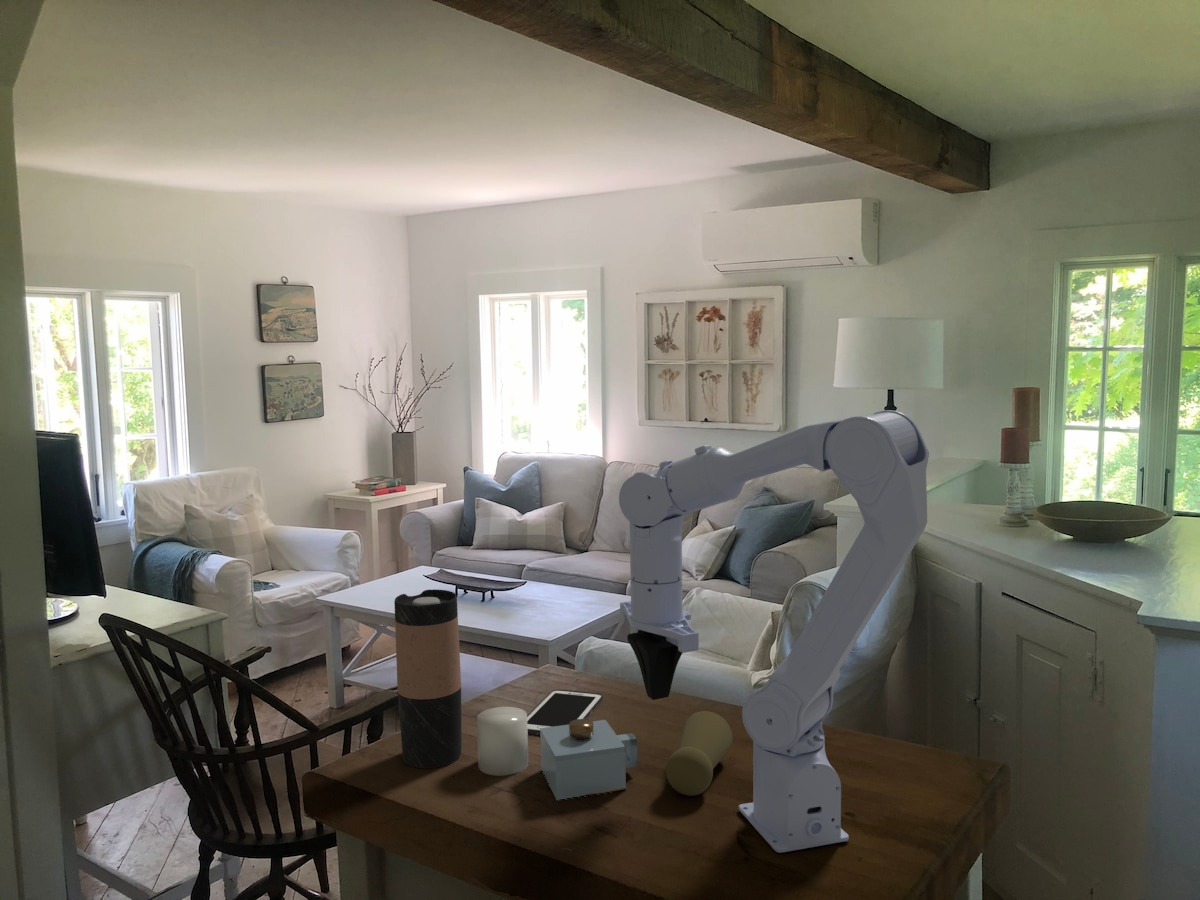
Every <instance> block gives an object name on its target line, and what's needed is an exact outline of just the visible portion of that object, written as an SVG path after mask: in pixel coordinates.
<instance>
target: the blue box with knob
mask: <svg viewBox="0 0 1200 900" xmlns="http://www.w3.org/2000/svg"><path fill="white" fill-rule="evenodd" d="M591 721H592V722H593V729H594V734H593V736H591V737H589V738H585V739H584V740H578V739H576V738H572V737H571V736H570V735H569V725H562V726H554V727H546V728H540V735H539V736H540V738H539V739H540V767H541V769H540V770H541V772H542V771H543V772H542V774H543V776H544V775H545V776H544V778H545V777H546V778H545V780H546V779H547V780H546V782H547V784H548V783H549V784H548V787H549V788H551V789H550V790H552V791H551V792H553V793H552V794H554V795H553V796H555V797H554V799H555V798H556V799H555V800H556V802H557V800H558V801H560V800H559V799H565V800H568V799H567V798H571V799H573V798H572V797H578V798H580V797H579V796H582V795H586V794H591V793H598V792H605V791H610V790H614V789H621V788H626V789H627V784H626V782H627V781H626V780H627V779H626V778H627V777H626V775H627V774H626V773H627V772H626V769H630V768H631V769H632V768H637V767H638V738H637V736H635V735H634V733H633V732H632V733H631V732H630V733H624V734H618V735H617V734H616V732H615V731H614V729H613V728H612V727H611V725H610V724H609V722H607V720H606V719H601V720H595V721H593V720H591Z"/></svg>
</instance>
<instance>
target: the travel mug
mask: <svg viewBox="0 0 1200 900" xmlns="http://www.w3.org/2000/svg"><path fill="white" fill-rule="evenodd" d="M393 602H394V626H395V627H394V629H395V630H394V631H395V656H396V658H395V659H396V680H397V681H396V685H397V699H398V700H397V702H398V713H399V727H400V738H401V749H402V750H401V751H402V758H403V759H402V760H403V762H404V763H405V764H406V765H408V766H409V767H412V768H418V769H435V768H441V767H445V766H447V765H450V764H452V763H455V762H457V760H458V759H460V757H461V755H462V675H461V655H460V653H461V652H460V635H459V633H460V632H459V616H458V614H459V612H458V598H457V594H456V593H455V592H454V591H450V590H445V589H424V590H423V591H422V592H421V593H420V594H416V595H411V596H410V595H407V594H406V593H401V594H399V595H398V596H396V597H395V598H394V601H393Z"/></svg>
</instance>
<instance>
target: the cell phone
mask: <svg viewBox="0 0 1200 900" xmlns="http://www.w3.org/2000/svg"><path fill="white" fill-rule="evenodd" d="M603 697H604V695H603V694H602V693H598V692H589V691H580V690H569V689H559V688H558V689H557V688H556V689H553V690H552V691H550V693H548V694H547V695H546V696H545V697H544V698H543V699H542V700H541V701H540V702H539V703H538V704H537V705H536V706H535V707H534V708H533V709H532V710H531V711H530V712H529V713H527V729H528V735H529V734H530V735H531V734H532V735H531V736H533V735H534V736H537V735H538V734H540V728H546V727H554V726H562V725H569V723H570V722H571V721H573V720H576V719H586V718H587V717H588V716H589V715H590V713H591V714H592V712H593V711H592V710H594V709H595V708H596V706H597V705H598V704H599V703H600V702H601V703H602V701H603V700H602V699H603ZM601 703H600V704H601ZM600 704H599V705H600ZM599 705H598V706H599ZM598 706H597V707H598ZM596 709H597V708H596ZM596 709H595V710H596ZM595 710H594V711H595ZM591 711H592V712H591ZM590 716H591V715H590ZM590 716H589V717H590ZM589 717H588V718H589ZM588 718H587V719H588Z"/></svg>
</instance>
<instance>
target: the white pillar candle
mask: <svg viewBox="0 0 1200 900" xmlns="http://www.w3.org/2000/svg"><path fill="white" fill-rule="evenodd" d="M527 715H528V713H527V711H525V710H524V709H522V708H518V707H514V706H497V707H492V708H488V709H486V710H482V711H481V712H479V713H478V714H477V716H476V731H477V733H476V735H477V737H476V738H477V760H478V763H477V764H478V766H477V767H478V769H479V770H480V771H481V772H482V773H483V774H487V775H491V776H501V777H502V776H509V775H510V776H511V775H515V774H518V773H521V772H522V771H524V770H525V769H527V767H528V766H529V764H528V763H529V738H528V737H529V733H528V729H527ZM523 769H524V770H523Z"/></svg>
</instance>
